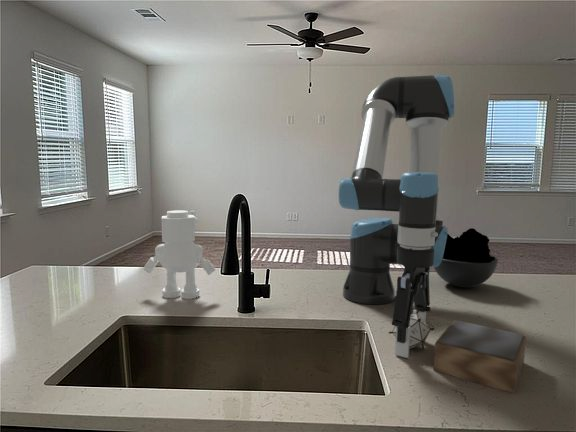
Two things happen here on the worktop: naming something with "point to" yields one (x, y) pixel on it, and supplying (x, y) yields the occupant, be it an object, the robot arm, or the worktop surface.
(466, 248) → the coal bowl
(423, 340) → the game die
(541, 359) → the worktop surface
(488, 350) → the walnut framed square mirror
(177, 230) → the robot toy
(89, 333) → the worktop surface
